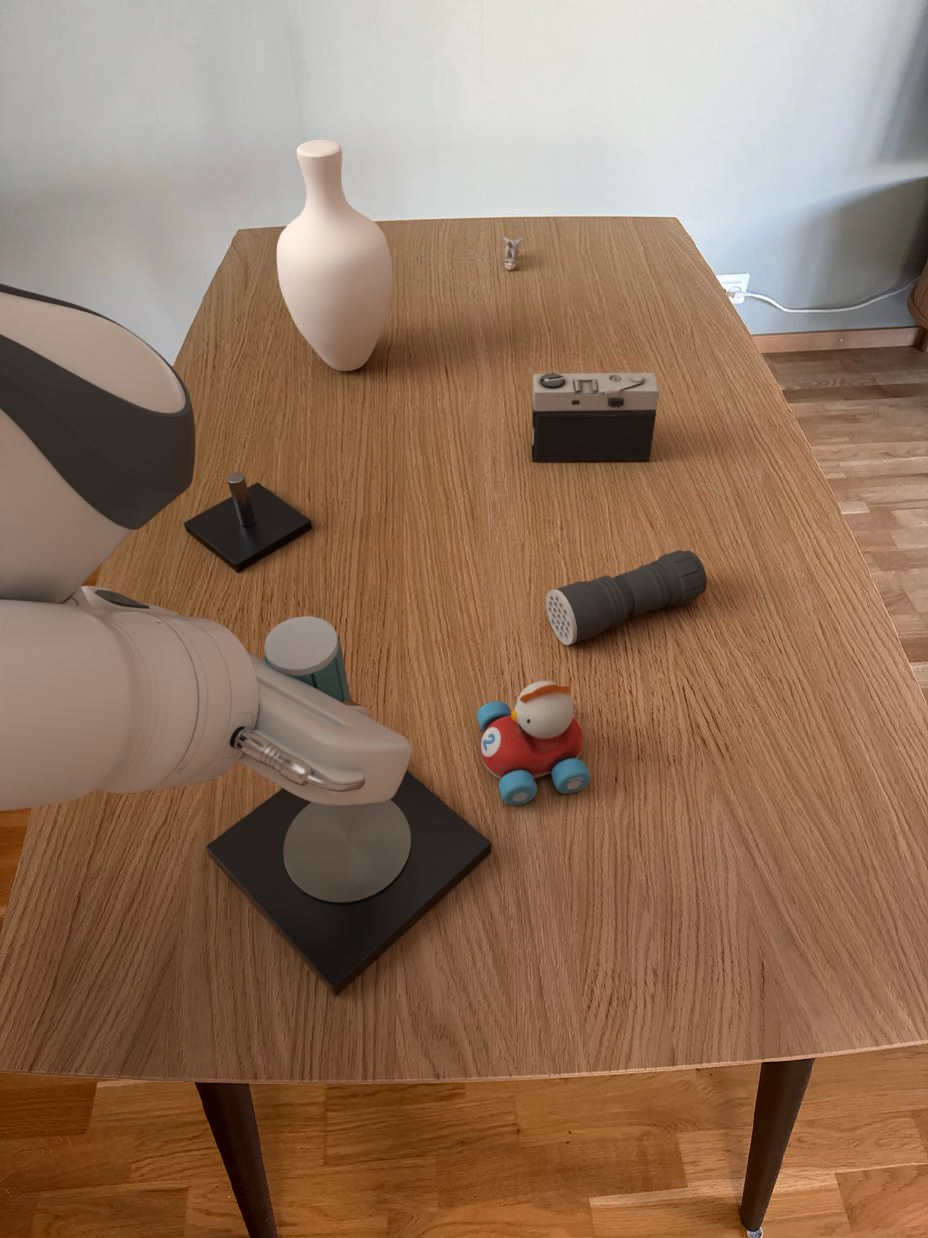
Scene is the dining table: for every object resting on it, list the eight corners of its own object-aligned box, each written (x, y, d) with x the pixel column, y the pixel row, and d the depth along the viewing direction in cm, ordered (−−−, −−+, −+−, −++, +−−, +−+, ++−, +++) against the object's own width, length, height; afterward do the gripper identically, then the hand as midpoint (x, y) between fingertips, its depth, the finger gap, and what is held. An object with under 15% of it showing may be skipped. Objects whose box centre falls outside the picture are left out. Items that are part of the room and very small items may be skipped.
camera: (643, 424, 113) (652, 350, 106) (650, 463, 107) (661, 389, 100) (530, 424, 114) (532, 351, 107) (531, 464, 108) (533, 390, 101)
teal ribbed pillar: (322, 797, 61) (293, 681, 53) (283, 759, 64) (249, 642, 55) (372, 758, 63) (352, 641, 55) (332, 723, 66) (307, 605, 57)
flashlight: (677, 573, 94) (684, 533, 90) (707, 607, 91) (716, 567, 87) (544, 619, 90) (546, 579, 86) (570, 656, 87) (574, 616, 83)
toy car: (469, 726, 81) (466, 651, 74) (563, 706, 82) (569, 630, 75) (495, 812, 75) (495, 739, 68) (597, 789, 76) (607, 715, 69)
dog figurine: (521, 277, 147) (524, 240, 146) (518, 263, 139) (520, 225, 138) (501, 276, 147) (504, 240, 147) (497, 262, 139) (499, 224, 139)
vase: (359, 403, 118) (330, 178, 98) (273, 375, 124) (229, 156, 104) (420, 353, 126) (405, 136, 106) (337, 329, 132) (308, 118, 112)
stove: (335, 997, 65) (332, 987, 63) (209, 856, 73) (203, 844, 72) (492, 852, 72) (491, 841, 71) (361, 739, 81) (359, 727, 79)
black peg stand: (238, 573, 96) (223, 520, 91) (185, 530, 101) (169, 478, 96) (312, 528, 101) (302, 475, 96) (259, 490, 106) (247, 438, 101)
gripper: (349, 732, 42) (471, 721, 55) (62, 572, 51) (225, 594, 63) (301, 854, 43) (432, 815, 55) (26, 676, 51) (194, 678, 64)
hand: (320, 697), depth 59 cm, fingers closed on teal ribbed pillar, 4 cm apart
